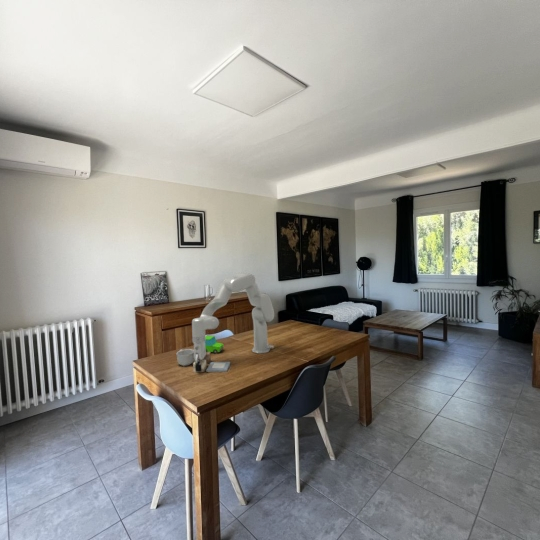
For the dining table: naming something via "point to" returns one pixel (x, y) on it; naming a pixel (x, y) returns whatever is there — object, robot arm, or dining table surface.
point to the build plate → (218, 366)
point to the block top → (207, 357)
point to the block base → (203, 366)
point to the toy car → (213, 345)
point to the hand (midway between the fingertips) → (200, 368)
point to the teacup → (185, 357)
